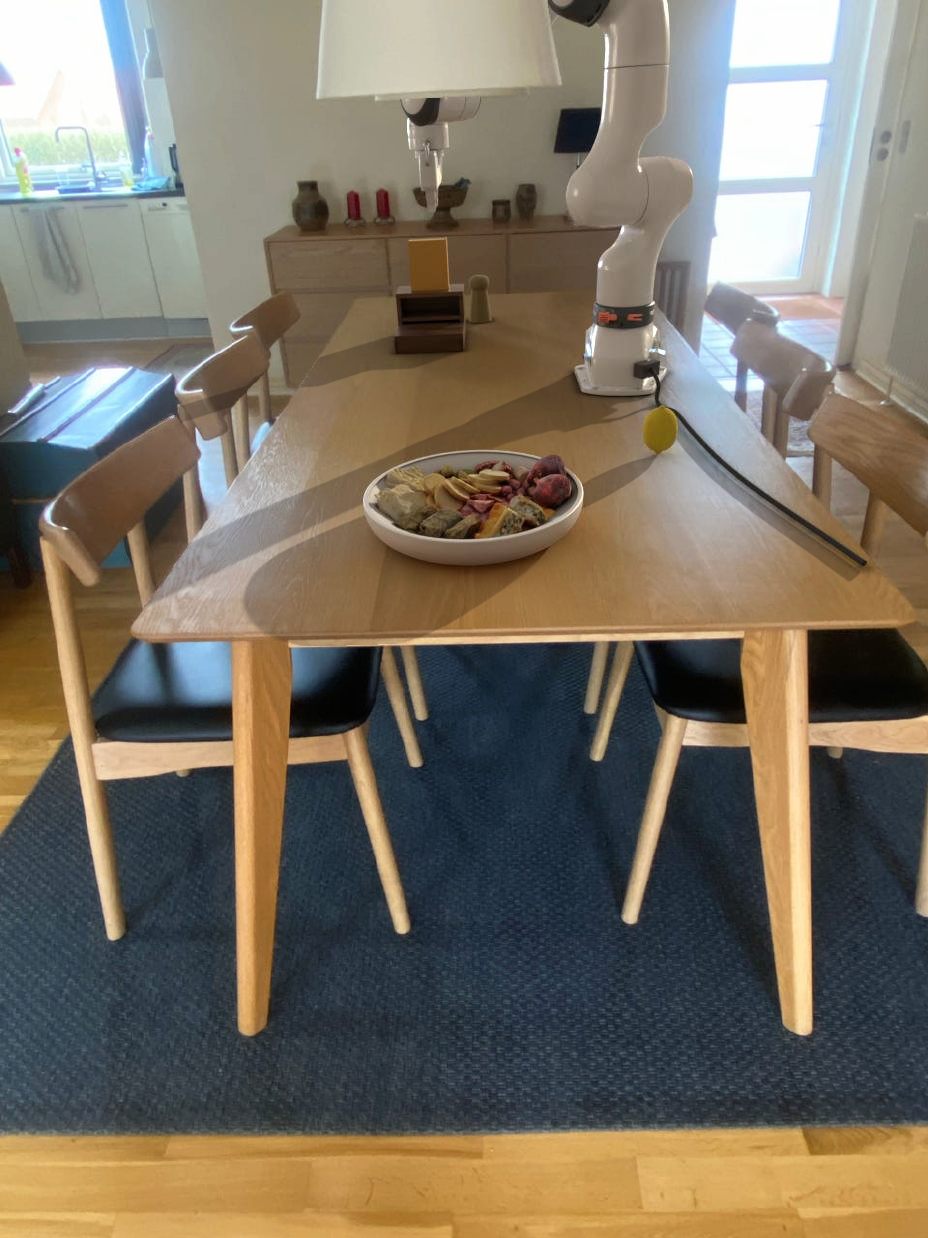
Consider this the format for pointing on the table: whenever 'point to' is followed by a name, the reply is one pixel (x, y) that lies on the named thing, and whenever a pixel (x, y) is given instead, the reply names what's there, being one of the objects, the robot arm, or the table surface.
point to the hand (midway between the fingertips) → (433, 209)
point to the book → (428, 263)
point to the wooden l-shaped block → (430, 320)
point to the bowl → (474, 506)
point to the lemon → (660, 429)
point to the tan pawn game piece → (479, 299)
